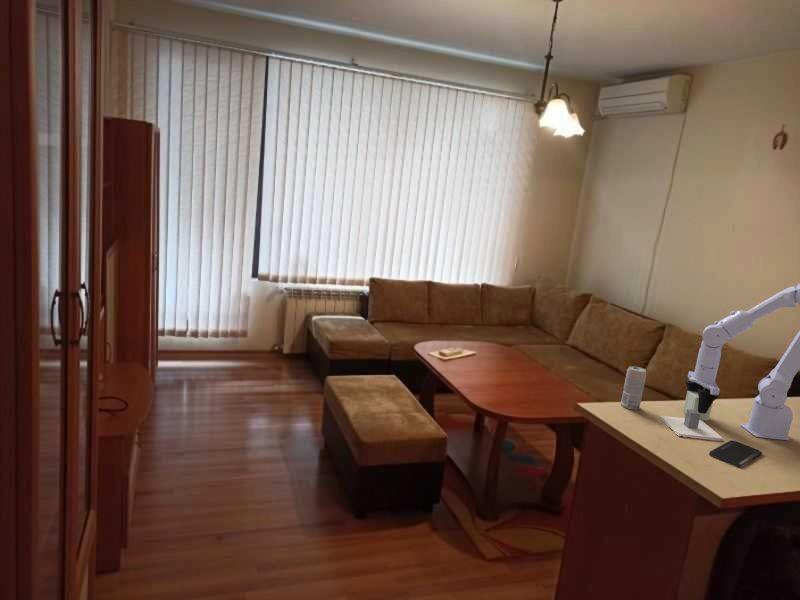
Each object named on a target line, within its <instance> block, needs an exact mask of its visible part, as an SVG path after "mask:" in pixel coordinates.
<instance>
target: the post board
mask: <svg viewBox="0 0 800 600" xmlns="http://www.w3.org/2000/svg"><path fill="white" fill-rule="evenodd" d="M700 415H701V414H700V413H699V412H698V411H697V410H689V409H687V411H686V414H685V415H684V417H677V416H676V417H675V416H668V415H660V416H659V419H660V420H661V421H662V422H663V423H664V424H665V426H667V427H668V428H669V427H670V428H671V429H672V430H673V431H674V432H675V433H676V434H677V435H678V436H683V437H682V438H687V437H691V438H690V439H697V438H698V440H708V441H715V442H716V441H718V442H723V441H724V438H723V437H722V436H721V435H720V434H718V433H717V432H716V431H715V430H714V429H713V428H712V427H710V426H709V425H708V424H707V423H706V422H704V420H700ZM670 428H669V429H670ZM671 429H670V430H671ZM672 430H671V431H672ZM673 431H672V432H673ZM674 432H673V433H674ZM675 433H674V434H675ZM676 434H675V435H676ZM677 435H676V436H677ZM678 436H677V437H678Z"/></svg>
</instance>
